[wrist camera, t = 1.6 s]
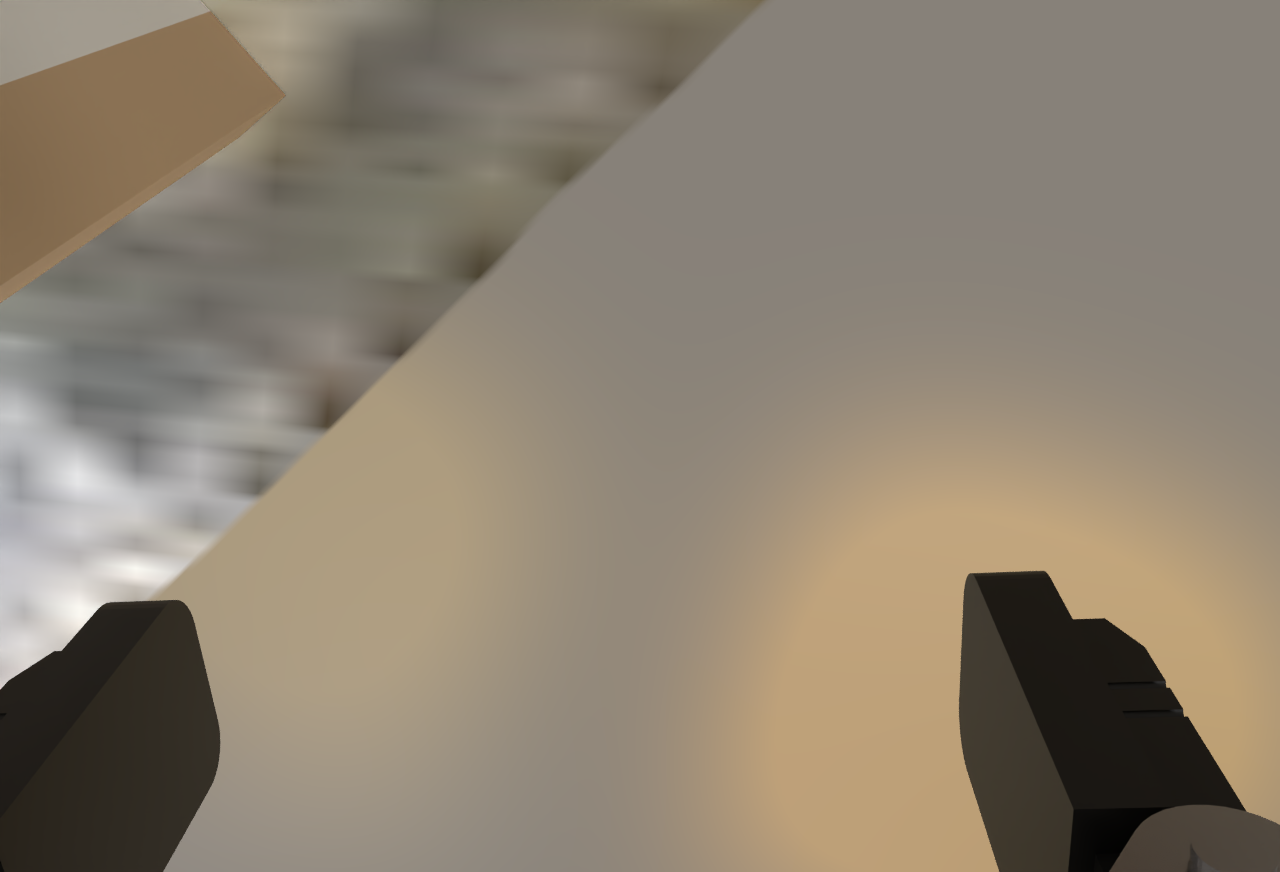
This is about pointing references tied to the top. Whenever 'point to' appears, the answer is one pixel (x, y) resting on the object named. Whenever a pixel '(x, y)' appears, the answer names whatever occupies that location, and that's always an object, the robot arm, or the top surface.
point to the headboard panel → (108, 115)
